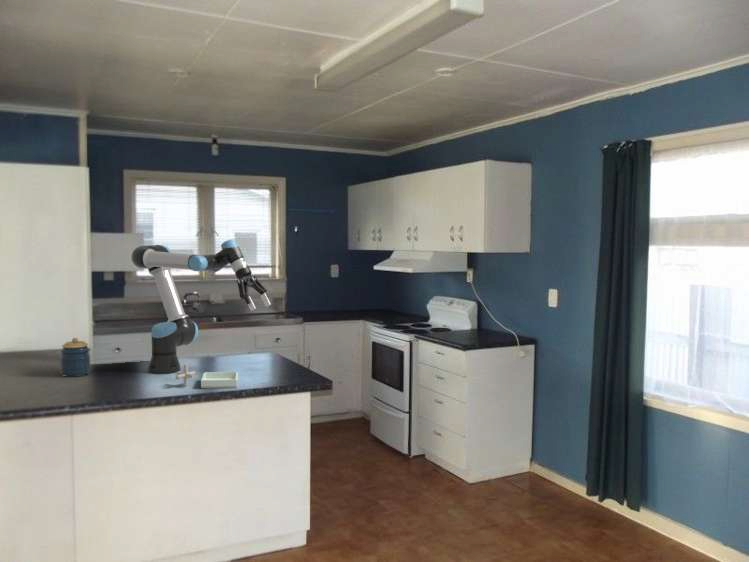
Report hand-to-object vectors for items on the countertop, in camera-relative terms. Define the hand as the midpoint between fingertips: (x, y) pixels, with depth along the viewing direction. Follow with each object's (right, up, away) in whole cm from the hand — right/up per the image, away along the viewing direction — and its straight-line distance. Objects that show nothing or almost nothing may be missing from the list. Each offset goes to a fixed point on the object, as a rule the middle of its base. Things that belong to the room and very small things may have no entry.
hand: (261, 307), depth 311 cm
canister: (-88, -32, -3) cm, 94 cm away
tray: (-16, -35, -15) cm, 41 cm away
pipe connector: (-31, -35, -20) cm, 50 cm away
